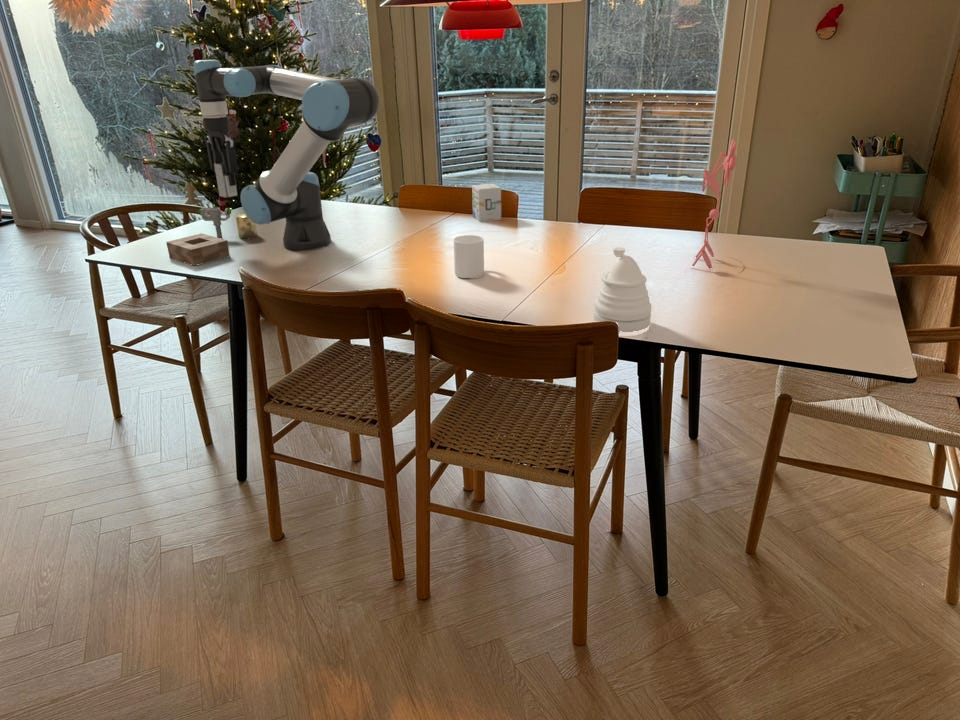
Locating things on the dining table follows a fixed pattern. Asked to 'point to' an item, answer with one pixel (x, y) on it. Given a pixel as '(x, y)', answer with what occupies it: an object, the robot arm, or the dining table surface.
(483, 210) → the ink box
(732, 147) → the pink branching twig
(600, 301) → the honey pot
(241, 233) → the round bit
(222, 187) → the square bit
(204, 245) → the bore block
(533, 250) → the dining table surface
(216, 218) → the mechanical component
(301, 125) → the robot arm
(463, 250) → the mug
